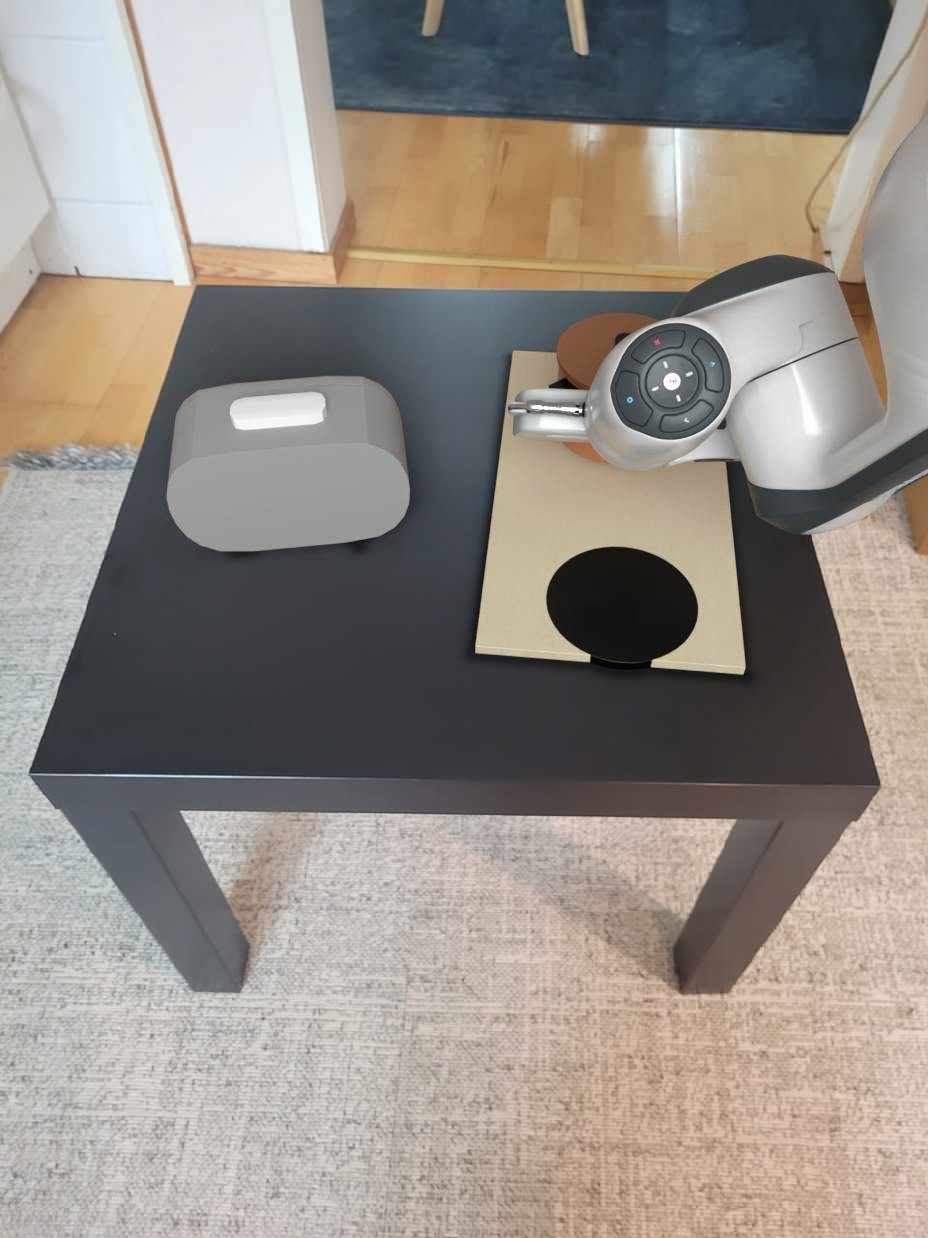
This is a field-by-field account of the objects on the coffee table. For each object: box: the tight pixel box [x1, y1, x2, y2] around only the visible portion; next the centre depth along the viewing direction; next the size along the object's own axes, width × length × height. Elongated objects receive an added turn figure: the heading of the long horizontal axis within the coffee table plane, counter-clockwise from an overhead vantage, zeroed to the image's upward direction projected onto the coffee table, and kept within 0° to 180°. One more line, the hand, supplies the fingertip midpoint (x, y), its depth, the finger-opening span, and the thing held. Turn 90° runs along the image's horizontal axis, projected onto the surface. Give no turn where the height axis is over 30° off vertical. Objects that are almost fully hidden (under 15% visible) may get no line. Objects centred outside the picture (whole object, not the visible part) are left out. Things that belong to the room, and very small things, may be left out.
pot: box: [549, 312, 660, 464], centre depth 90 cm, size 16×13×11 cm
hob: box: [474, 349, 747, 675], centre depth 90 cm, size 22×41×1 cm, turn 174°
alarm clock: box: [166, 375, 411, 552], centre depth 83 cm, size 21×10×13 cm, turn 97°
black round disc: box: [546, 546, 698, 671], centre depth 80 cm, size 13×13×1 cm
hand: (624, 430), depth 86 cm, fingers closed, pressing on pot
